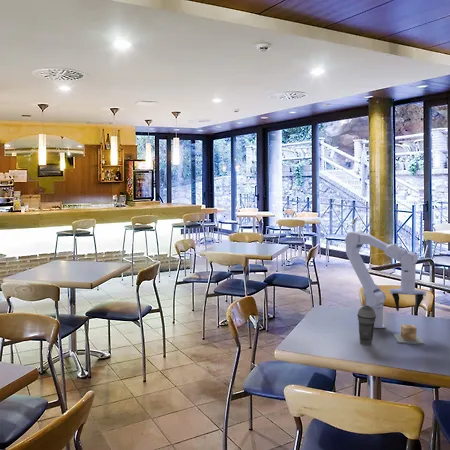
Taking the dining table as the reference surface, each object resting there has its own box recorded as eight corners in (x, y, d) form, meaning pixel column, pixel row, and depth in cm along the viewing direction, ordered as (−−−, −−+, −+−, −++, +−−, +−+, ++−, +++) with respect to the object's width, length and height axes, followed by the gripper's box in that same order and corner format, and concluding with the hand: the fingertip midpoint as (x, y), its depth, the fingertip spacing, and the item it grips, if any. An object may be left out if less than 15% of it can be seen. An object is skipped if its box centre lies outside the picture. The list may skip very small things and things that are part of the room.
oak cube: (403, 339, 192) (403, 328, 191) (400, 336, 197) (401, 324, 196) (416, 340, 191) (416, 328, 191) (413, 336, 196) (413, 324, 195)
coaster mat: (398, 343, 190) (398, 341, 190) (393, 335, 199) (393, 333, 199) (424, 344, 188) (424, 343, 188) (418, 336, 198) (418, 335, 198)
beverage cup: (365, 348, 184) (366, 298, 182) (352, 342, 190) (353, 294, 189) (379, 345, 187) (380, 296, 186) (366, 339, 194) (367, 292, 192)
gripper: (391, 281, 199) (390, 312, 201) (428, 282, 197) (426, 314, 198) (389, 277, 206) (388, 308, 208) (424, 279, 204) (422, 309, 205)
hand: (406, 310), depth 203 cm, fingers open, 7 cm apart
